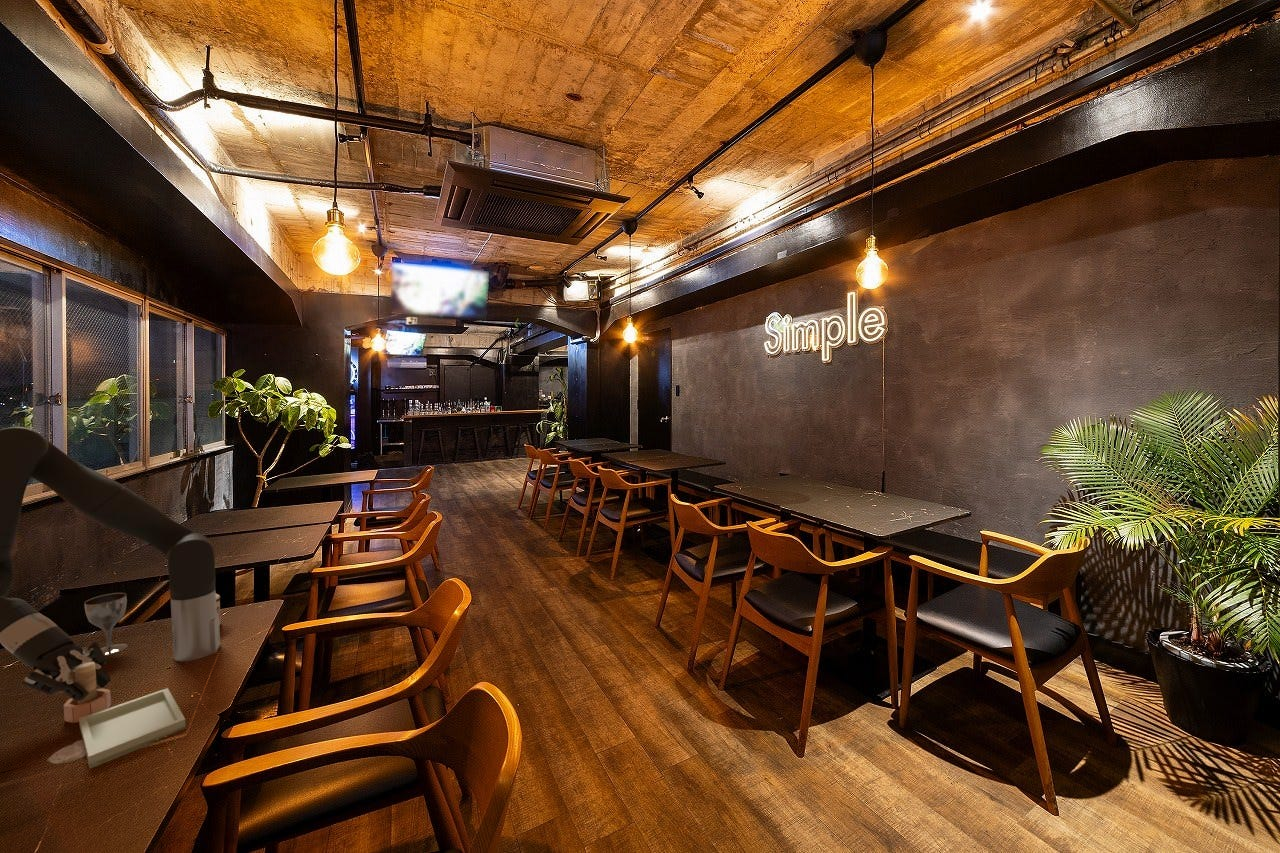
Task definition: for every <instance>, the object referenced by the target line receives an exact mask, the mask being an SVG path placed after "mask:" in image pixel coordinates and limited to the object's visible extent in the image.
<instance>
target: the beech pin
mask: <svg viewBox="0 0 1280 853" xmlns="http://www.w3.org/2000/svg"><path fill="white" fill-rule="evenodd" d="M74 674H75V682H77V683H78V684H79V685H81V686H82V687H83V688H84V689H85V690H87V691H88V693H89V694H88V695H87V696H86V697H85V698H84V699H82V700H81V701H78V700H77V703H78V705H79V704H84V703H88V702H91V701H93V700H95V699H97V698H98V697H97V689H98V687H97V686H98V685H97V684H96V671H95V662H88V663H84V664H83V663H81V664H80V665H79V666H77V667H75V672H74Z"/></svg>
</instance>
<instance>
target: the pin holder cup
mask: <svg viewBox="0 0 1280 853" xmlns="http://www.w3.org/2000/svg"><path fill="white" fill-rule="evenodd" d="M97 697H98V698H97V699H95V700H93V701H91V702H88V703H84V704H79V705H78V703H77V700H74V699H72V698H71V697H70V698H69V699H67V701H66V702H65V703H64V704H63V715H64V716H63V717H64V722H67V723H72V724H73V723H74V724H75V723H79V718H82V717H85V716H88V715H91V714H93V713H96V712H99V711H102V710H105V709H108V708H111V707H112V699H111V698H112V696H111V690H110V689H107V688H104V687H103V688H97Z"/></svg>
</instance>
